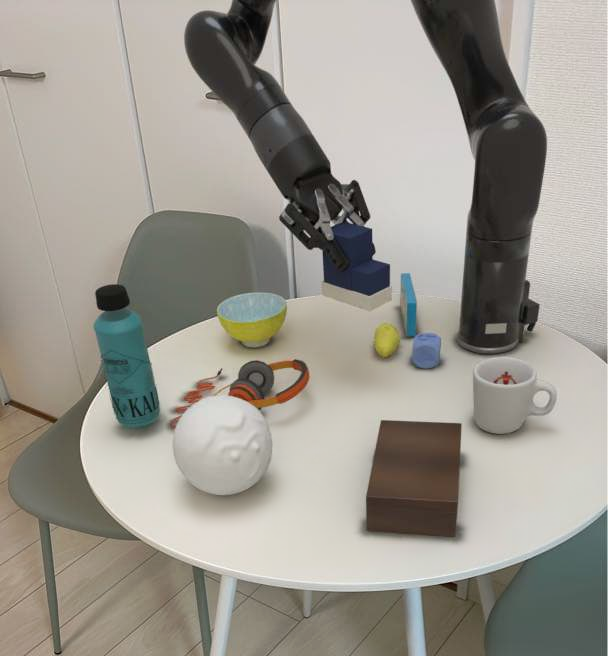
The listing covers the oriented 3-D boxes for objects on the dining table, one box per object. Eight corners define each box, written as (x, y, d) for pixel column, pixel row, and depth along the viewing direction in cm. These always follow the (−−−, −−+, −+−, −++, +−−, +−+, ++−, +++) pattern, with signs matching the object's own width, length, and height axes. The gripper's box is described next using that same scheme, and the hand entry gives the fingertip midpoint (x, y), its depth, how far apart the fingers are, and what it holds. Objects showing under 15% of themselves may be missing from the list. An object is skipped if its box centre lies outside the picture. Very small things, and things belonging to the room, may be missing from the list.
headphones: (169, 445, 107) (300, 425, 100) (154, 413, 104) (288, 390, 97) (204, 387, 120) (323, 366, 113) (192, 357, 116) (313, 334, 110)
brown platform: (380, 452, 98) (380, 419, 95) (458, 456, 96) (461, 423, 93) (366, 531, 86) (365, 496, 83) (455, 537, 84) (458, 501, 81)
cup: (553, 415, 102) (563, 361, 97) (547, 446, 97) (557, 391, 91) (473, 405, 105) (478, 353, 100) (463, 436, 100) (468, 382, 95)
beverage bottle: (120, 415, 110) (86, 280, 97) (165, 411, 110) (137, 276, 97) (115, 439, 105) (78, 301, 92) (163, 435, 105) (133, 296, 92)
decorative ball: (213, 528, 88) (197, 442, 81) (165, 482, 96) (146, 400, 88) (295, 488, 93) (288, 404, 86) (243, 448, 101) (232, 367, 93)
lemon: (370, 360, 117) (370, 337, 115) (376, 338, 123) (376, 315, 121) (397, 361, 117) (397, 338, 114) (402, 338, 123) (402, 315, 120)
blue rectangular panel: (400, 307, 132) (400, 272, 128) (408, 306, 132) (409, 272, 128) (406, 337, 123) (407, 301, 119) (415, 337, 123) (416, 300, 119)
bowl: (207, 349, 124) (202, 313, 120) (247, 322, 131) (243, 287, 127) (264, 363, 119) (260, 326, 115) (302, 333, 126) (300, 298, 122)
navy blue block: (322, 295, 106) (318, 230, 100) (344, 285, 109) (342, 220, 103) (369, 311, 101) (369, 243, 95) (392, 300, 103) (392, 233, 98)
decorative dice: (438, 369, 114) (439, 344, 111) (411, 368, 115) (412, 343, 112) (440, 356, 117) (441, 332, 114) (414, 355, 118) (415, 332, 115)
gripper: (261, 145, 94) (335, 263, 95) (340, 121, 101) (408, 231, 102) (238, 184, 100) (308, 294, 101) (314, 158, 107) (378, 261, 108)
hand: (358, 262), depth 101 cm, fingers closed on navy blue block, 4 cm apart
